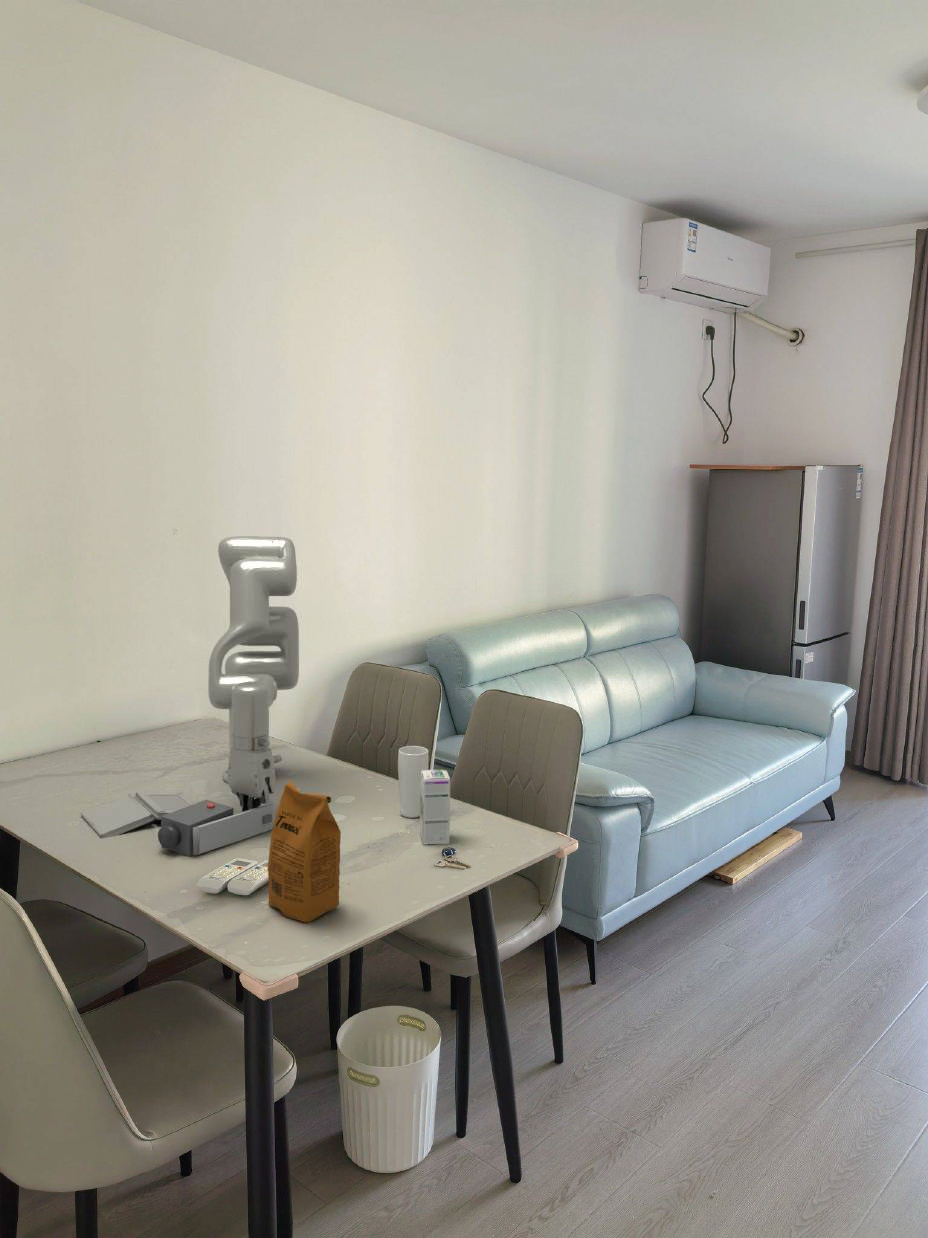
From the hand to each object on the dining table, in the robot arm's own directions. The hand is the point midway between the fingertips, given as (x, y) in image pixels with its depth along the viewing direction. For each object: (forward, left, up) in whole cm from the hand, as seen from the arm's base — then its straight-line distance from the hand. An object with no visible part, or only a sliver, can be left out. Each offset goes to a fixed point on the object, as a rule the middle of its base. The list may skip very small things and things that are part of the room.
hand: (250, 824), depth 202 cm
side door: (+7, +2, -1) cm, 7 cm away
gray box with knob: (+11, -4, -1) cm, 12 cm away
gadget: (+8, -24, -2) cm, 25 cm away
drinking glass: (-28, +22, -2) cm, 36 cm away
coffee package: (+20, +32, -2) cm, 38 cm away
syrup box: (-19, +34, -2) cm, 39 cm away
